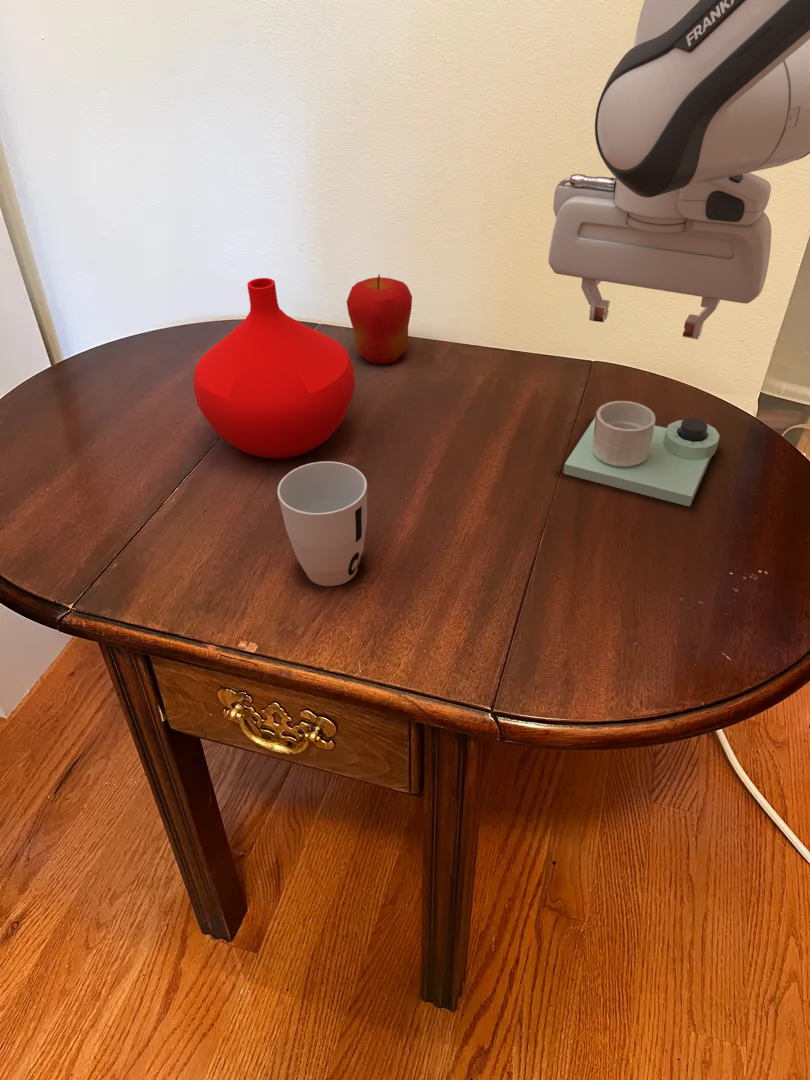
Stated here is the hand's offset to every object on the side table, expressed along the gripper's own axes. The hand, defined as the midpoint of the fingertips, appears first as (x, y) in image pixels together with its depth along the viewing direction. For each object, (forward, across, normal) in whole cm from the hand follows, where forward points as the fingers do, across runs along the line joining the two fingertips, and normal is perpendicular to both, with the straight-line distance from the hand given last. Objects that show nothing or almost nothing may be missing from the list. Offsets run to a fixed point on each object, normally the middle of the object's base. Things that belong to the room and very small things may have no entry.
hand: (643, 327), depth 84 cm
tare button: (+14, +6, +5) cm, 16 cm away
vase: (+16, -38, -12) cm, 43 cm away
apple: (+16, -38, +11) cm, 42 cm away
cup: (+17, -20, -30) cm, 40 cm away
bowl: (+15, 0, 0) cm, 15 cm away
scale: (+17, +2, +2) cm, 17 cm away
